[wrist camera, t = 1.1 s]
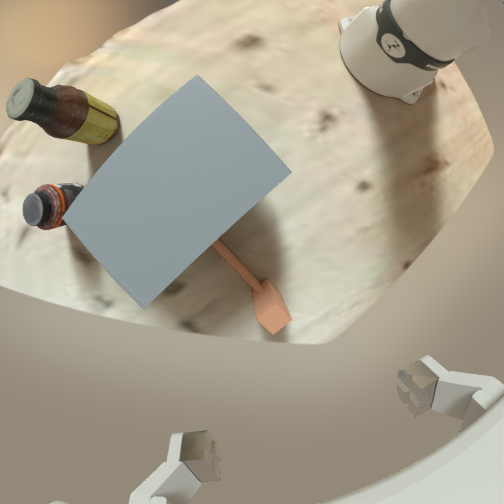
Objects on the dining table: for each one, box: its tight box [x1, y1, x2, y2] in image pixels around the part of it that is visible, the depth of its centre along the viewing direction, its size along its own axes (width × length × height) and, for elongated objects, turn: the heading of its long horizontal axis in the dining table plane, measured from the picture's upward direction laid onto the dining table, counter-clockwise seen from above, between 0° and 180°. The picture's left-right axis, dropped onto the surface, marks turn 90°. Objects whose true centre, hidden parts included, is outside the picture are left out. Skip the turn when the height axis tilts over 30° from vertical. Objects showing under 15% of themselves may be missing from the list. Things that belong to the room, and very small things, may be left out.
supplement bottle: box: [23, 183, 84, 230], centre depth 29 cm, size 6×6×11 cm
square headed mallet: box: [212, 239, 292, 335], centre depth 35 cm, size 3×12×9 cm, turn 42°
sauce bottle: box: [6, 78, 119, 145], centre depth 23 cm, size 7×6×20 cm
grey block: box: [62, 75, 292, 309], centre depth 29 cm, size 18×12×15 cm, turn 132°
